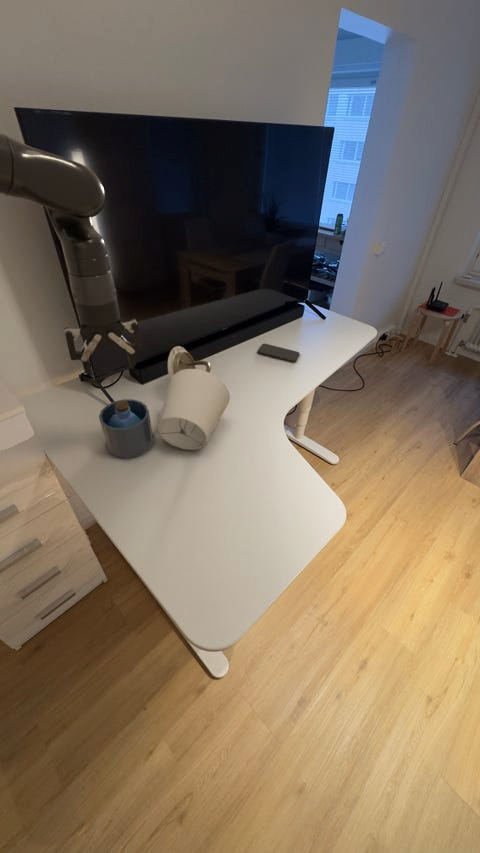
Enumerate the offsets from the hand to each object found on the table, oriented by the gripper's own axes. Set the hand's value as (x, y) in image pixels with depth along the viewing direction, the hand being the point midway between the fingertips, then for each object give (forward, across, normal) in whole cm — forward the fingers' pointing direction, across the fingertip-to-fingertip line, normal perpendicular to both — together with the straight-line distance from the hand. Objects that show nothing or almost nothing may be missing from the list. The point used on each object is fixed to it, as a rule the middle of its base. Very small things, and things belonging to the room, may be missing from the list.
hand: (111, 370), depth 74 cm
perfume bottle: (+23, -1, -1) cm, 23 cm away
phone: (+22, -62, -28) cm, 72 cm away
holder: (+23, -1, -1) cm, 23 cm away
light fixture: (+23, -21, -7) cm, 32 cm away
